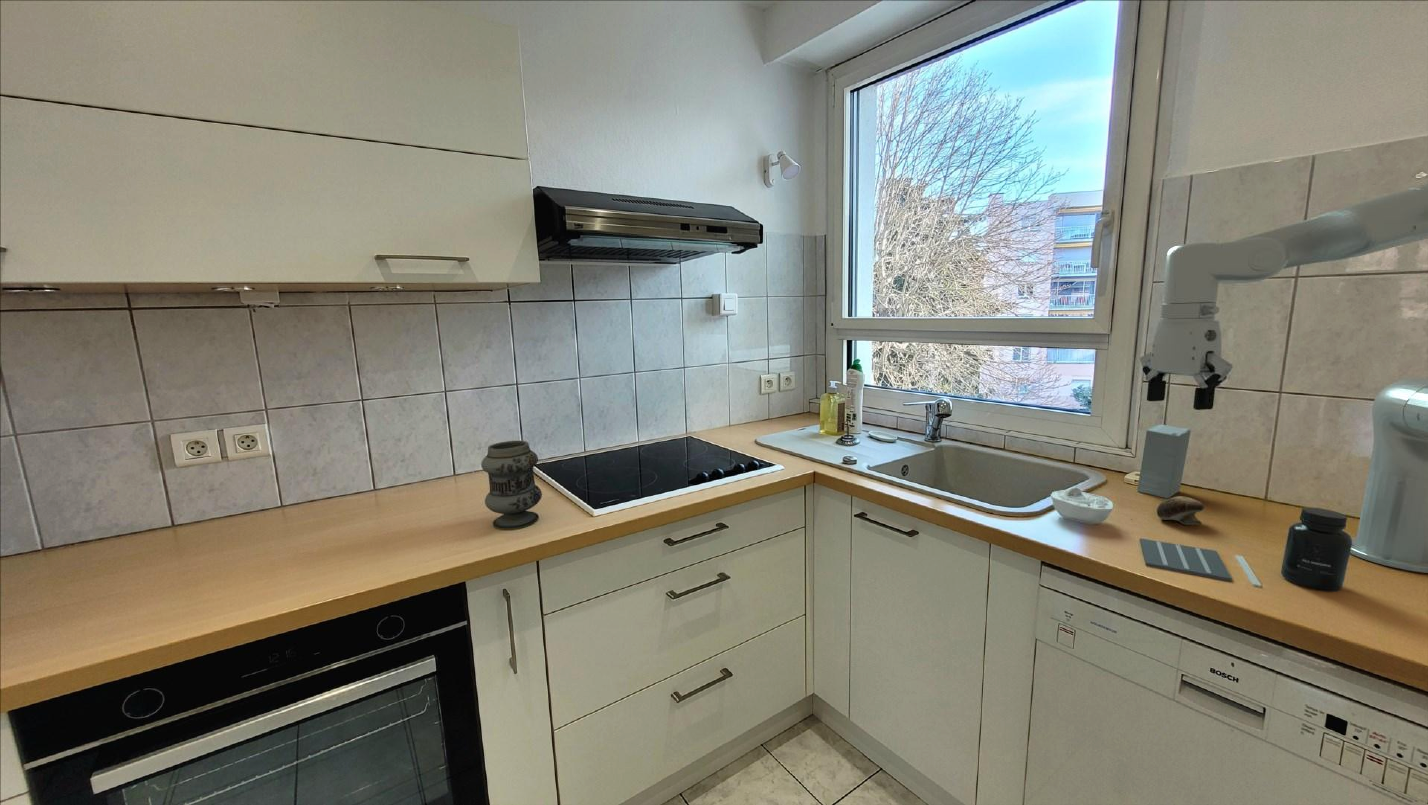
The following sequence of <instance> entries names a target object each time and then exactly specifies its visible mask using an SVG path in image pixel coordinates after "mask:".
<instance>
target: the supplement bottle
mask: <svg viewBox="0 0 1428 805" xmlns="http://www.w3.org/2000/svg"><path fill="white" fill-rule="evenodd" d="M1299 520H1300V521H1299V522H1295V523H1293V524H1291V525H1290V526H1289V528H1288V532H1287V537H1286V541H1285V542H1286V543H1285V547H1284V552H1283V558H1282V563H1281V570H1280V574H1281V576H1282V578H1284V579H1285V580H1287V582H1291V583H1292V584H1294V585H1296V586H1301V587H1303V588H1306V589H1310V590H1313V591H1314V590H1315V591H1319V592H1328V593H1334V592H1339V591H1341V590H1343V587H1344V582H1345V579H1346V573H1347V570H1348V563H1349V560H1350V554H1351V553H1350V551H1351V546H1352V539H1351V535H1349V534H1348V533H1347V532H1346V531H1345V529H1346V527H1347V520H1348V517H1347V516H1346V514H1344V513H1342V512H1338V511H1334V510H1331V509H1326V508H1321V507H1307V506H1305V507H1303V508H1302V509H1301V512H1300V515H1299Z"/></svg>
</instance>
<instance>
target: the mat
mask: <svg viewBox="0 0 1428 805" xmlns="http://www.w3.org/2000/svg"><path fill="white" fill-rule="evenodd" d="M1139 544H1140V547H1141V551H1142V556H1143V560H1144V563H1145V566H1146V567H1147V566H1148V567H1153V568H1158V569H1163V570H1168V571H1173V572H1179V573H1183V574H1190V575H1193V576H1194V575H1195V576H1200V577H1206V578H1211V579H1216V580H1221V581H1226V582H1232V580H1233V579H1232V576H1231V574H1230V572H1229V571H1228V568H1226V566H1225V564H1224V562H1223V560H1222V559H1221V556H1220V555H1219V553H1218V551H1217V550H1212V549H1207V548H1201V547H1195V546H1189V545H1184V544H1178V543H1172V542H1171V543H1170V542H1165V541H1160V540H1153V539H1148V538H1142V537H1141V538H1139Z"/></svg>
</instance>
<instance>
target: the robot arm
mask: <svg viewBox="0 0 1428 805" xmlns="http://www.w3.org/2000/svg"><path fill="white" fill-rule="evenodd" d="M1427 239H1428V183H1425V184H1421V185H1419V186H1414V187H1412V188H1408V189H1405V190H1404V189H1403V190H1401V191H1397V192H1395V193H1394V192H1393V193H1390V194H1386V195H1383V196H1380V197H1378V198H1377V197H1376V198H1373V199H1370V200H1366V201H1363V202H1359V203H1355V204H1352V205H1349V206H1345V207H1342V208H1338V209H1335V210H1332V211H1328V212H1325V213H1322V214H1319V215H1316V216H1314V217H1311V218H1308V219H1304V220H1302V221H1298V222H1295V223H1292V224H1289V225H1285V226H1282V227H1279V228H1275V229H1272V230H1268V231H1264V232H1260V233H1257V234H1253V235H1251V236H1246V237H1243V238H1239V239H1236V240H1232V241H1228V242H1217V243H1216V242H1197V243H1196V242H1195V243H1194V242H1193V243H1186V244H1185V243H1184V244H1180V245H1175V246H1172V247H1170V249H1169V250H1168V251H1167V254H1166V259H1165V268H1164V270H1165V271H1164V279H1163V290H1162V300H1161V301H1162V302H1161V303H1162V304H1161V308H1160V309H1161V311H1160V320H1159V321H1158V323H1157V326H1156V329H1155V332H1154V336H1153V341H1152V346H1151V351H1150V352H1149V353H1147V354H1144V355H1142V356H1141V357H1139V360H1140V364H1141V367H1142V372H1143V373H1144V375H1145V380H1146V381H1147V382H1148V383H1147V393H1146V401H1147V402H1163V401H1165V397H1166V388H1167V380H1164V379H1165V378H1166V377H1167V376H1168V375H1176V376H1186V377H1193V379H1194V380H1195V382H1196V383H1197V385H1198V387H1195V389H1194V398H1193V408H1192V409H1194V410H1195V411H1197V410H1198V411H1202V410H1213V408H1214V402H1215V394H1216V393H1215V392H1216V388H1219V387H1220V386H1221V383H1223V382H1224V381H1226V379H1227V376H1228V375H1229V374H1230V372H1231V371H1232V369H1233V364H1232V363H1231V362H1229V361H1227V360H1226V359H1225V358H1222V332H1221V326H1220V322H1219V320H1215V318H1216V316H1215V315H1216V314H1219V312H1220V308H1219V306H1217V300H1218V299H1217V298H1218V291H1219V290H1218V289H1219V284H1222V285H1230V284H1247V283H1256V282H1262V281H1265V280H1268V279H1270V278H1273V277H1274V276H1276V275H1278V274H1279V273H1280V272H1282V270H1285V269H1291V268H1294V267H1300V266H1305V265H1311V264H1318V263H1326V262H1335V261H1340V260H1341V261H1342V260H1347V259H1351V258H1355V257H1361V256H1365V255H1369V254H1373V253H1377V252H1381V251H1386V250H1388V249H1392V248H1396V247H1399V246H1403V245H1406V244H1411V243H1415V242H1419V241H1423V240H1427ZM1371 417H1372V418H1371V419H1372V428H1373V444H1372V453H1371V457H1370V463H1369V468H1368V474H1367V480H1366V485H1365V490H1364V496H1363V501H1362V506H1361V511H1360V512H1361V513H1360V517H1359V522H1358V527H1357V532H1356V533H1357V534H1356V536H1352V537H1351V536H1350V537H1351V539H1352V546H1351V551H1350V554H1351V555H1353V556H1355V557H1358V558H1360V559H1364V560H1366V561H1369V562H1371V563H1375V564H1379V565H1382V566H1387V567H1390V568H1395V569H1398V570H1399V569H1400V570H1403V571H1404V570H1405V571H1410V572H1416V573H1423V574H1428V378H1424V377H1417V378H1407V379H1401V380H1398V381H1396V382H1393V383H1391V384H1389V385H1387V386H1386V387H1383V389H1382V390H1380V391H1379V392H1378V394H1377V395H1376V396H1375V398H1374V400H1373V403H1372V408H1371Z"/></svg>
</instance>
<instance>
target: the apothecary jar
mask: <svg viewBox="0 0 1428 805" xmlns="http://www.w3.org/2000/svg"><path fill="white" fill-rule="evenodd" d="M538 461H539V457H538V454H537V453H536V452H535V451H533V450H531V447H530V444H529V442H528V441H526V440H507V441H502V442H501V441H500V442H496V443H493V444H490V445H488V447H487V455H485V456H484V458H483V459H482V460H481V463H480V464H481V468H482V470H483V471H484V472H485V473H487V474H488V483H489V492H488V493H487V495H486V496H485V499H484V504H485V506H486V508H487V509H488V510H490V511H491V512H494V513H497V514H501V515H500V516H498V517H496V518H495V519H494V520H493V522H492V526H493V528H494V529H497V530H501V531H509V530H510V531H511V530H512V531H513V530H519V529H524V528H527V527H530V526H532V525H533V524H535V523H537V522H538V521H539V518H540V515H539V514H538V513H537V512H536V511H535V512H534V511H531V510H530V509H532V508H533V507H535V506H536V505H537V504H539V502H540V501H541V499H542V498H543V496H542V495H543V494H542V489H541V488H540V487H539V486H538V485H536V482H535V481H536V480H535V475H534V467H535V466H536V465H537V464H538ZM529 510H530V511H529Z"/></svg>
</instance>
